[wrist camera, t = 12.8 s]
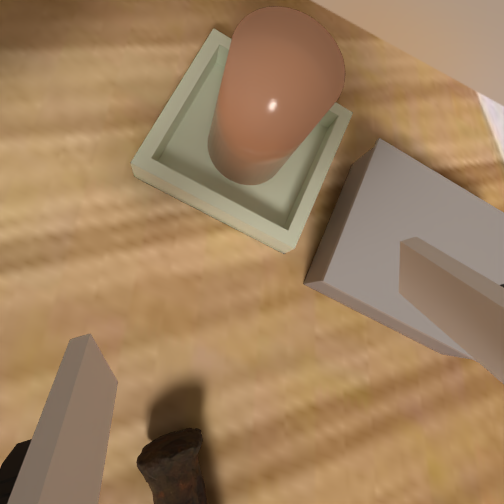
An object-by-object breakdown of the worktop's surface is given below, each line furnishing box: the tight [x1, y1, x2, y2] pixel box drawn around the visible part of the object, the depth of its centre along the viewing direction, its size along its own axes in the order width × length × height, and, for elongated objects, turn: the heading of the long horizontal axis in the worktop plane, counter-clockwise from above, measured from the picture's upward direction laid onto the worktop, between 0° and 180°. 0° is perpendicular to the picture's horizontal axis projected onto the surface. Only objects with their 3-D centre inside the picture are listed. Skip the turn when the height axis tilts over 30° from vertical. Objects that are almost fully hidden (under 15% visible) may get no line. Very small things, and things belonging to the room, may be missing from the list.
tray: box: [131, 28, 353, 254], centre depth 26 cm, size 13×13×2 cm
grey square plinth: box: [303, 138, 504, 362], centre depth 27 cm, size 14×12×4 cm
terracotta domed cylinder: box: [208, 6, 345, 185], centre depth 22 cm, size 6×6×10 cm
